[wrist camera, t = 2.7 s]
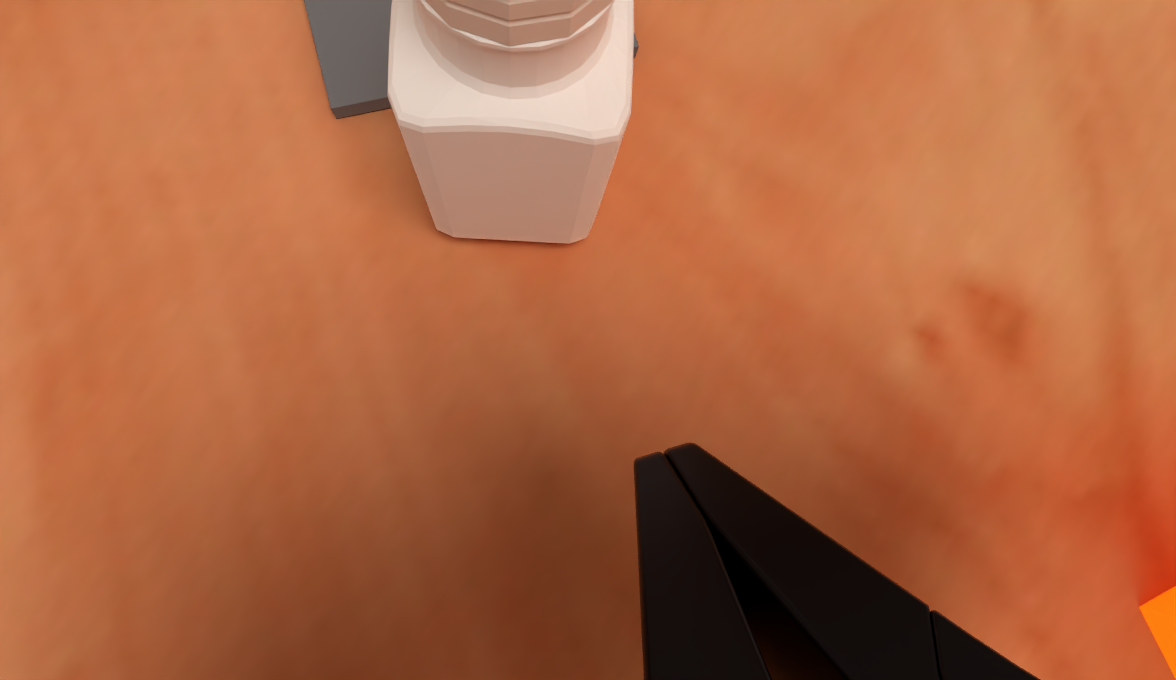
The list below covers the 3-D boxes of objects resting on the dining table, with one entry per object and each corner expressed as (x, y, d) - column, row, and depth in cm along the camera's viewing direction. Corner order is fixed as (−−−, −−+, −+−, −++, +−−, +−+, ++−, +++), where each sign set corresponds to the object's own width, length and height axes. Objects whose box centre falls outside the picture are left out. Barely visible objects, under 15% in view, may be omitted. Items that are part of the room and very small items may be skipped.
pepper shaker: (441, 95, 17) (348, -342, 8) (594, 107, 17) (685, -294, 8) (431, 243, 16) (316, -37, 7) (591, 252, 17) (685, 0, 7)
